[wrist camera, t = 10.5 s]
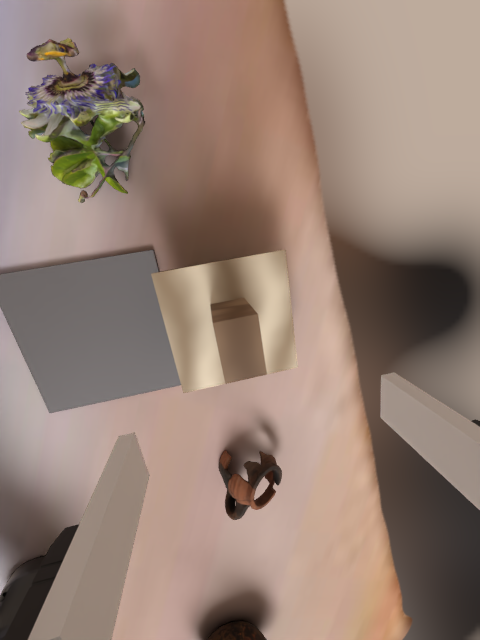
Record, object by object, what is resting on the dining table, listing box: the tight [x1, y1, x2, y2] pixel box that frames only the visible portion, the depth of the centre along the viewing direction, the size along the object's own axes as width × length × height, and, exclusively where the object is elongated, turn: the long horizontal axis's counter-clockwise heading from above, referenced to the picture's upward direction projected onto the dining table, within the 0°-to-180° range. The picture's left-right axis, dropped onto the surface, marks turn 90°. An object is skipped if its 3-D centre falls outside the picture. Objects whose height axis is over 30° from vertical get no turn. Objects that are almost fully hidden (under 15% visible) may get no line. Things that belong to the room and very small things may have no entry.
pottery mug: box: [219, 450, 282, 520], centre depth 42 cm, size 12×10×8 cm
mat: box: [0, 250, 181, 413], centre depth 34 cm, size 20×20×1 cm
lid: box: [151, 250, 298, 393], centre depth 26 cm, size 15×15×8 cm
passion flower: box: [19, 38, 145, 203], centre depth 25 cm, size 11×11×12 cm
